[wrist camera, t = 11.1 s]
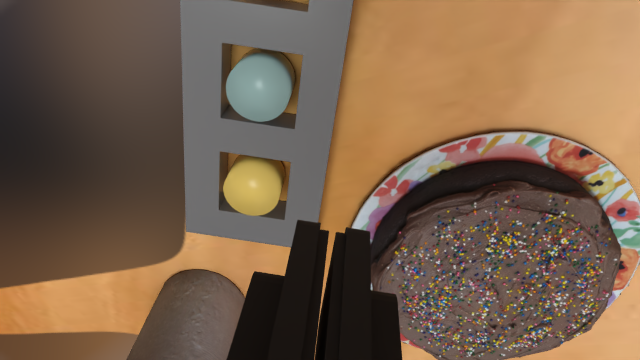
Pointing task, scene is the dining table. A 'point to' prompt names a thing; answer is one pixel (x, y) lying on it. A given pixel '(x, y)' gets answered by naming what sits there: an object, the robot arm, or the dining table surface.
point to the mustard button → (254, 184)
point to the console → (252, 136)
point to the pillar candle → (191, 319)
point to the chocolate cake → (502, 243)
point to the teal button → (260, 85)
